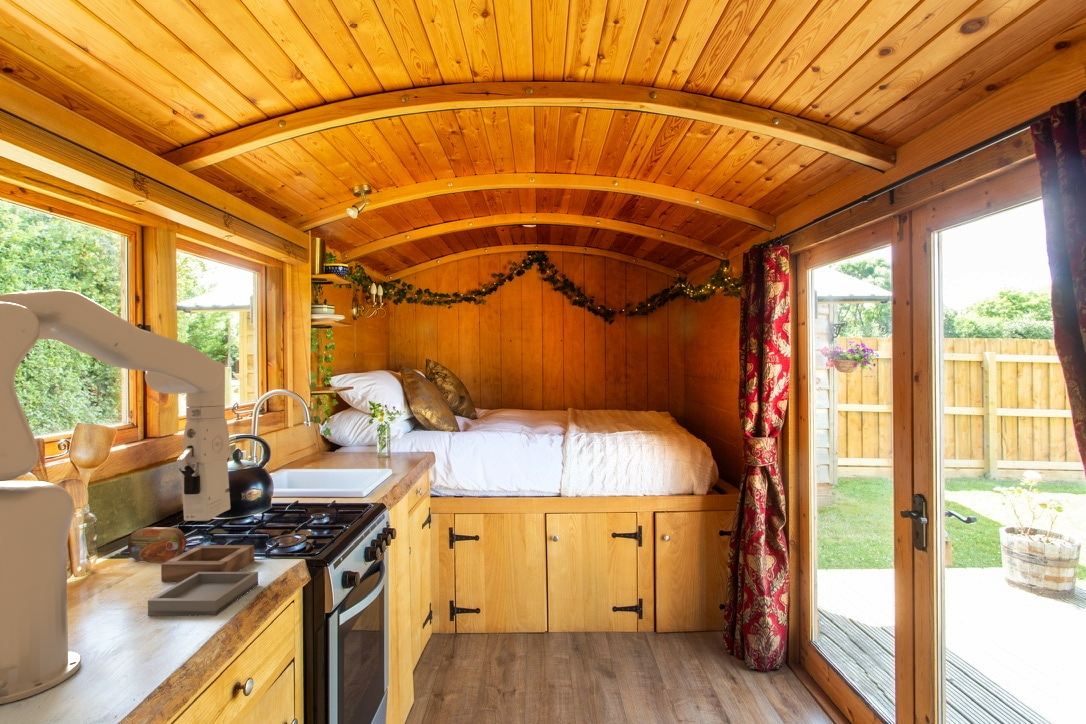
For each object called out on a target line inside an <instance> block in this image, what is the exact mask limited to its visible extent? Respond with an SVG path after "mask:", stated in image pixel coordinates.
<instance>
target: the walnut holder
mask: <svg viewBox="0 0 1086 724" xmlns="http://www.w3.org/2000/svg"><path fill="white" fill-rule="evenodd" d="M253 562H255V545H254V544H234V545H233V544H227V545H226V544H224V545H223V544H214V545H213V544H205V545H203V544H199V545H198V546H194V547H193V548H191V549H189V550H187V551H184V553H183V554H181V555H179V556H177V557H175V558H173V559H171V560H169V561H167V562H162V563H161V564H160V569H161V571H160V573H161V575H160V576H161V581H183V580H185V579H187V578H188V577H190V576H192V575H194V574H195V573H197V572H237V571H238V572H240V571H241V570H242V569H244V568H245V567H247V566H248V565H250V564H252V563H253ZM240 569H241V570H240ZM161 581H160V582H161Z"/></svg>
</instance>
